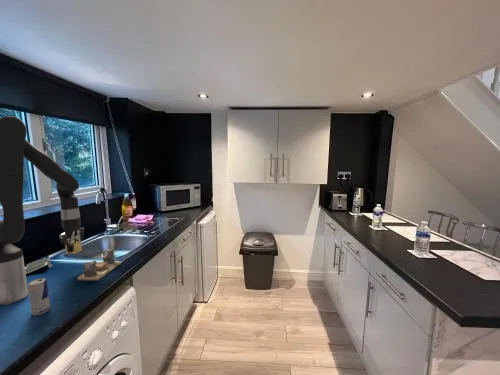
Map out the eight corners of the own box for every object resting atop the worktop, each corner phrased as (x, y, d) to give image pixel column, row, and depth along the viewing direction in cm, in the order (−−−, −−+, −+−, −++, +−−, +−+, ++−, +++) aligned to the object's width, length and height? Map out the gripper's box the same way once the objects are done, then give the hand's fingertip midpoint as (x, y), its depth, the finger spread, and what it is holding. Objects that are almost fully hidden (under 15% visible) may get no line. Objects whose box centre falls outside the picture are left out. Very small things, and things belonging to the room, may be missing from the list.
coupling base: (98, 280, 113) (96, 263, 112) (77, 280, 113) (75, 263, 112) (120, 263, 131) (119, 248, 130) (102, 263, 131) (101, 248, 130)
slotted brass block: (81, 250, 123) (80, 241, 122) (75, 253, 119) (74, 243, 118) (72, 250, 123) (71, 241, 123) (66, 253, 119) (65, 243, 119)
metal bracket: (50, 253, 134) (46, 262, 122) (55, 261, 136) (51, 271, 123) (17, 266, 127) (10, 277, 115) (23, 275, 129) (16, 287, 116)
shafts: (89, 268, 113) (88, 261, 113) (85, 268, 113) (84, 261, 113) (112, 254, 130) (111, 247, 130) (108, 254, 130) (108, 247, 130)
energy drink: (54, 306, 93) (50, 277, 92) (42, 315, 88) (38, 284, 86) (39, 307, 93) (35, 278, 92) (27, 316, 88) (23, 285, 86)
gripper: (75, 214, 127) (78, 245, 128) (51, 220, 113) (54, 255, 114) (88, 214, 126) (91, 245, 128) (65, 220, 112) (69, 256, 114)
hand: (73, 250), depth 121 cm, fingers closed on slotted brass block, 4 cm apart
